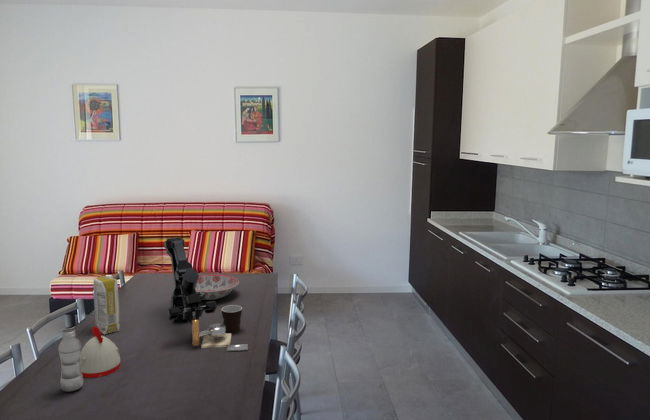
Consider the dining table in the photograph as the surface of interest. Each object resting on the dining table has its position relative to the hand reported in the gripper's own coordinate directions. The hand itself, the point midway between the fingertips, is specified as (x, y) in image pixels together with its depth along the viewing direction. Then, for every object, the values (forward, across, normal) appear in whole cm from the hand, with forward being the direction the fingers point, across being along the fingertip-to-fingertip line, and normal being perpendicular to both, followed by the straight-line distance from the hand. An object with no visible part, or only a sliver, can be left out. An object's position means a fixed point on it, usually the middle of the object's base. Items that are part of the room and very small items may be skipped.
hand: (196, 329), depth 184 cm
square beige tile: (+4, +8, +5) cm, 11 cm away
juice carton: (-18, -30, +27) cm, 44 cm away
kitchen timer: (+7, -35, +3) cm, 36 cm away
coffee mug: (-2, +18, +12) cm, 21 cm away
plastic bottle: (+15, -44, -5) cm, 46 cm away
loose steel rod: (+13, +13, -3) cm, 18 cm away
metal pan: (+4, +5, +4) cm, 7 cm away
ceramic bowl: (-34, +20, +44) cm, 59 cm away
